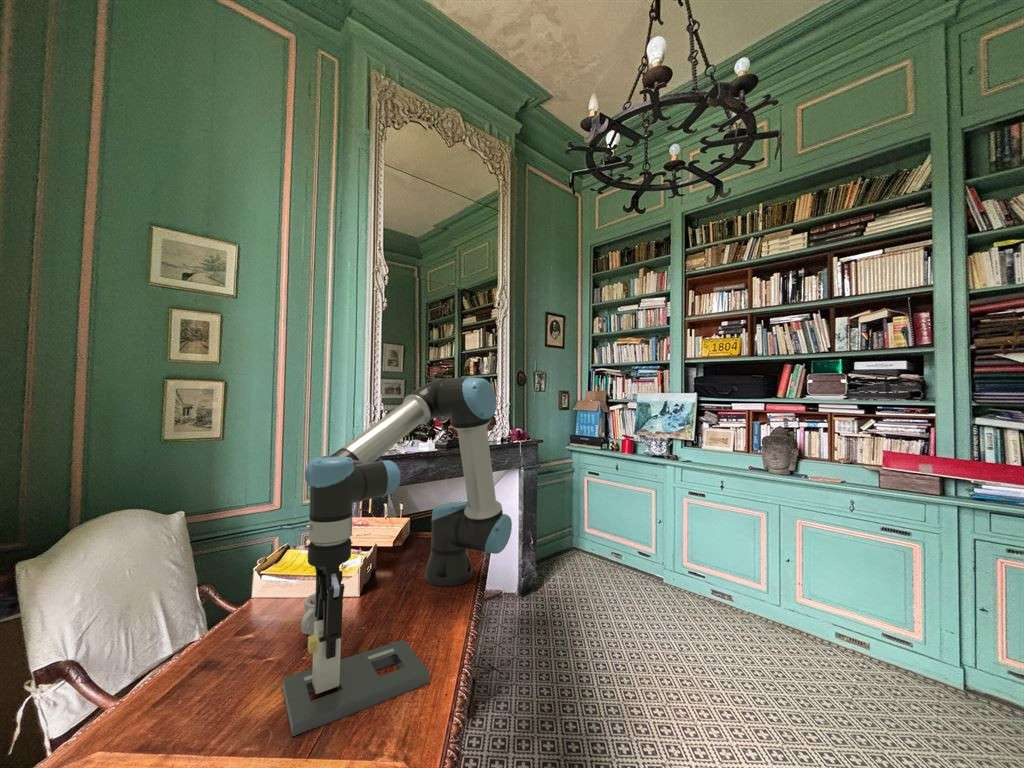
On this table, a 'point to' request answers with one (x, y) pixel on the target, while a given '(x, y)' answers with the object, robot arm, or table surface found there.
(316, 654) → the plug
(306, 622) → the cup
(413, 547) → the table surface
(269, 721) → the table surface
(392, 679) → the panel
